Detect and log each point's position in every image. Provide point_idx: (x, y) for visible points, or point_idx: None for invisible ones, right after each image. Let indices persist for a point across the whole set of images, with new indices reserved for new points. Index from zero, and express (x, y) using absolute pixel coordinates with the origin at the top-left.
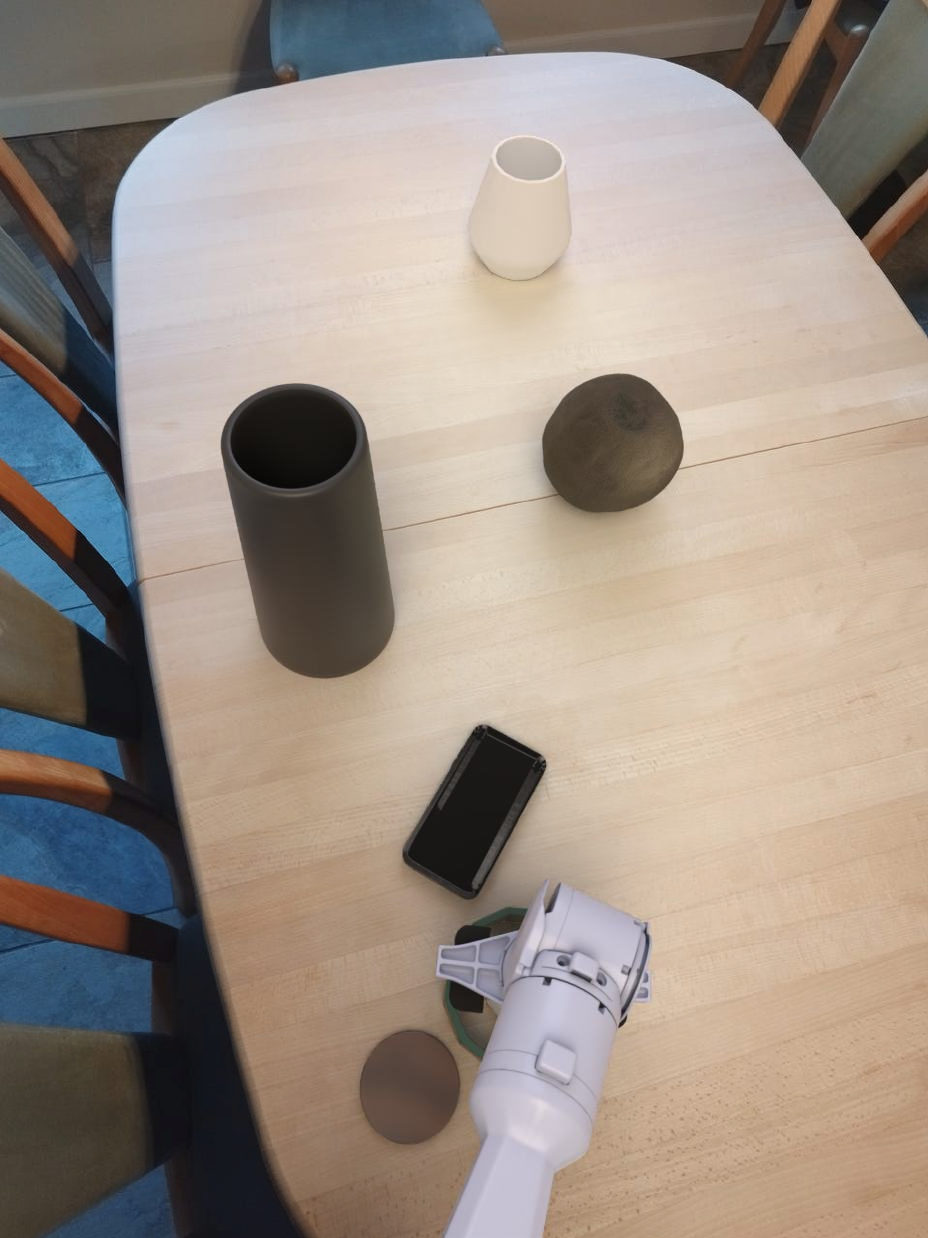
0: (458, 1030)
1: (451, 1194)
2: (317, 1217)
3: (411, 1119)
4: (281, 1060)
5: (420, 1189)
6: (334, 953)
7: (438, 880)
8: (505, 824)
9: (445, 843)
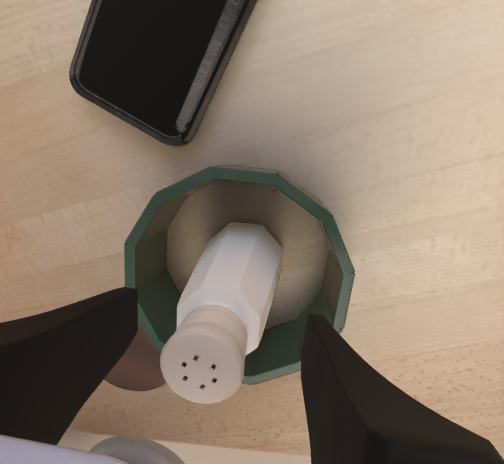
0: (147, 333)
1: (182, 422)
2: (70, 425)
3: (134, 372)
4: (5, 313)
5: (153, 416)
6: (28, 213)
7: (127, 119)
8: (225, 17)
9: (131, 58)
